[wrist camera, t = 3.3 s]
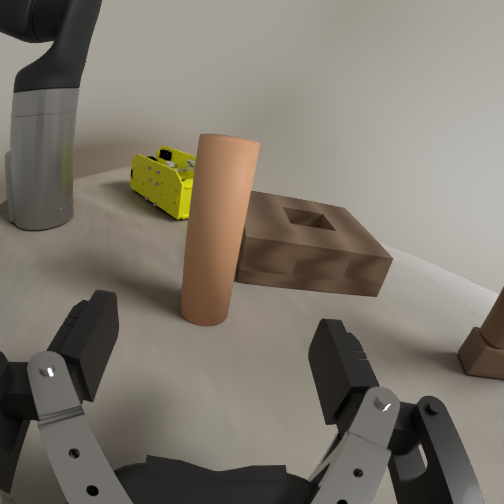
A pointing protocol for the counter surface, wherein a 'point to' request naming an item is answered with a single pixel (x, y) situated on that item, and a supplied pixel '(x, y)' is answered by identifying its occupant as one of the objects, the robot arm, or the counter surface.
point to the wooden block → (486, 345)
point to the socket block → (309, 248)
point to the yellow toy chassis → (165, 180)
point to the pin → (216, 225)
